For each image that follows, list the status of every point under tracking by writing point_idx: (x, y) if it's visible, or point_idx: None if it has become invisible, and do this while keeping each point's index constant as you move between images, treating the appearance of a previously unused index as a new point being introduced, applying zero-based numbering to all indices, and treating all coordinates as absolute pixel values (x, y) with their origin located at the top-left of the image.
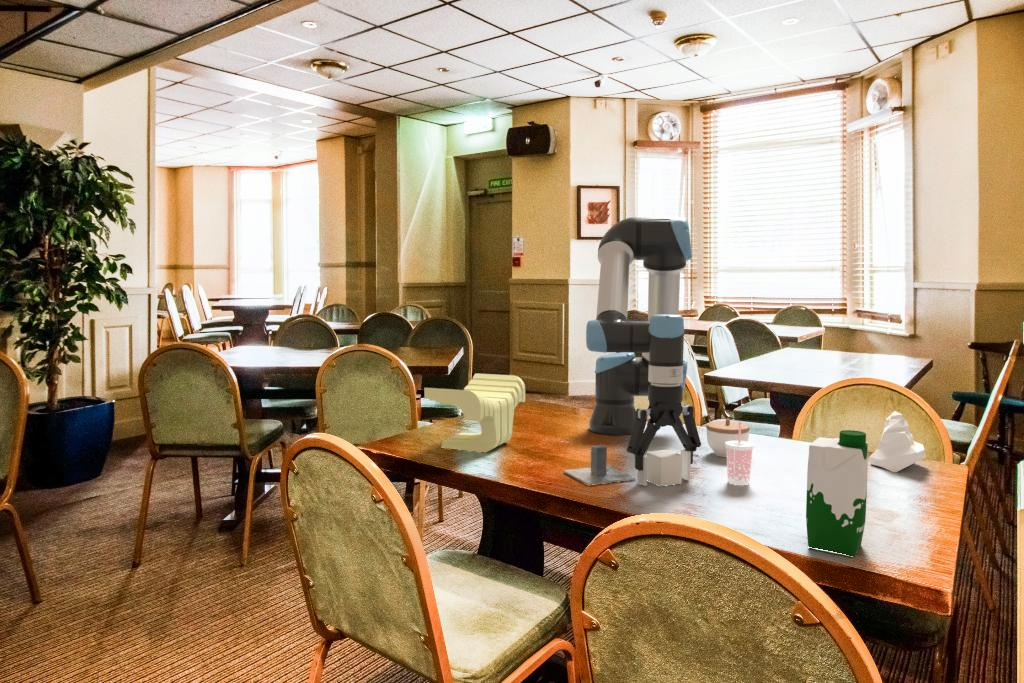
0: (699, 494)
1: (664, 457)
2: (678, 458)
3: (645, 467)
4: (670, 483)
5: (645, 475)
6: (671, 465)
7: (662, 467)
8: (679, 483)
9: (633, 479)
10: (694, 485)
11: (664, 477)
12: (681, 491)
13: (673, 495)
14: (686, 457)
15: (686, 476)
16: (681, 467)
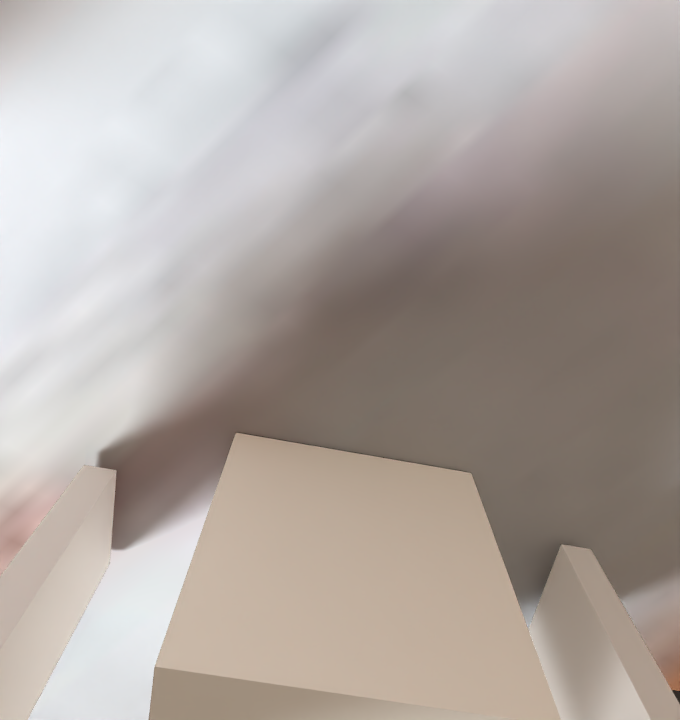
0: (344, 85)
1: (497, 712)
2: (236, 639)
3: (660, 692)
4: (362, 466)
5: (616, 619)
6: (359, 590)
7: (494, 603)
8: (260, 441)
9: None
10: (151, 343)
11: (443, 517)
12: (417, 275)
13: (593, 224)
14: (5, 667)
15: (103, 503)
16: (207, 537)
